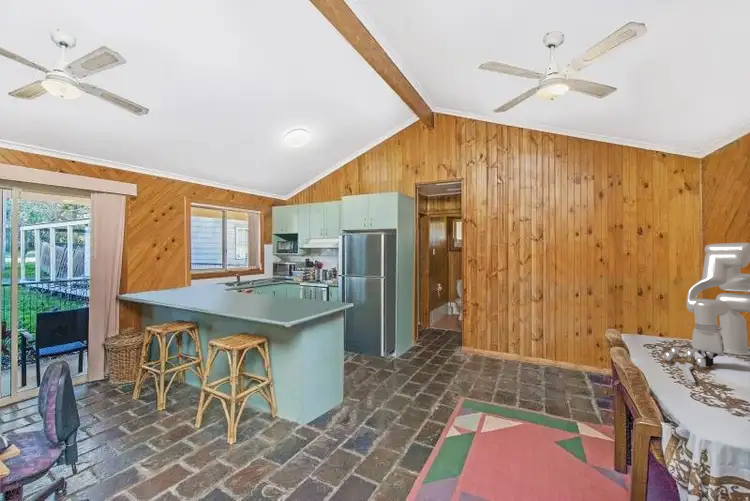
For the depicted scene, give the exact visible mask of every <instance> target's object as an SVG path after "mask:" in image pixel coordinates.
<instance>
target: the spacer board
mask: <svg viewBox="0 0 750 501" xmlns="http://www.w3.org/2000/svg"><path fill="white" fill-rule="evenodd" d="M681 358H683V357H681V356H679V359H674V358H673V361H674V363H673V364H670V363H666V362H665V358H662V359H661V360H659V361H658V363H661V364H665V365H670V366H674V367H675V363H676V362H679V363H680V364H681V365H685V364H684V363H681ZM717 366H719V363H714V364H713V365H712V366H711V367H709V366H706V370H699V369H697V360H696V359H695V362H694V364H693V369H692V370H694V371H699V372H705V373H710V372H711V371H712V370H714V369H715V368H716V367H717Z"/></svg>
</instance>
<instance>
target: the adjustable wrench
mask: <svg viewBox="0 0 750 501" xmlns="http://www.w3.org/2000/svg"><path fill="white" fill-rule="evenodd" d="M674 368H675V369H678V370H681V371H682V373H683V375H684V380H685V381H686V384H687V385H690V386H696V380H695V378H694V376H693V374H692V372H691V370H694V369H693V365H692V364H690V363H687V362H685V365H681V364H680V363H679V362H676V363H675V366H674Z"/></svg>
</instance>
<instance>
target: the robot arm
mask: <svg viewBox="0 0 750 501" xmlns="http://www.w3.org/2000/svg"><path fill="white" fill-rule="evenodd" d="M704 253H705V256H704V259H703V269H702V277H701V279H700V280H698V281H696V282H695V283H694V284H693V285H692V286H691V287H690V288H689V289H688V292H687V296H686V308H687V309H686V310H687V311H688V312H690V313H693V315H694V328H693V331H692V334H691V335H692V336H691V338H692V339H691V342H692V343H691V345H692V348H691V350H692V351H694V352H695V353H698V354H699V355H701V358H704V359H705V360H706V366H709V367H711V366H712V365H713V364H715V363H714V358H715V357H724V356H725V354H729V355H737V356H750V349H749V347H748V332H747V330H748V329H747V320H746V317H744V316H743V315H742V314H741V313H750V273H742V271H741V269H742V268H743V269H744V268H745V267H747V266H748V265H749V264H750V242H730V243H729V242H726V243H725V242H722V243H712V244H707V245H705V246H704ZM714 287H718V288H719V289H720V290H722V291H726V292H723V293H719V294H718V295H717V296H716V297H715V299H710V298H709V299H708V298H700V297H699V298H697V297H698V295H699V293H701V292H702V291H704V290H707V289H711V288H714ZM727 291H729V292H727ZM732 292H733V293H732ZM735 292H736V293H735ZM738 292H740V293H738ZM741 292H743V293H741ZM718 317H719V318H718ZM718 320H719V321H718ZM718 322H719V323H718ZM707 353H709V357H708V356H707Z"/></svg>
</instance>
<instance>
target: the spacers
mask: <svg viewBox="0 0 750 501" xmlns="http://www.w3.org/2000/svg"><path fill="white" fill-rule="evenodd" d="M685 352H686V358H690V359H693V360H694V362H695V360H697V369H699V370H706V360H705V359H704V358H703V357H696V356H695V355H696V352H695V351H692V349H686V351H685ZM709 354H710V352H707V356H708V357H709ZM664 357H665V362H666V363H670V364H673V363H674V361H673V358H674V359H679V357H680V353H679V348H678V347H670V351H664ZM670 364H669V365H670ZM699 370H698V371H699Z"/></svg>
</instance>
